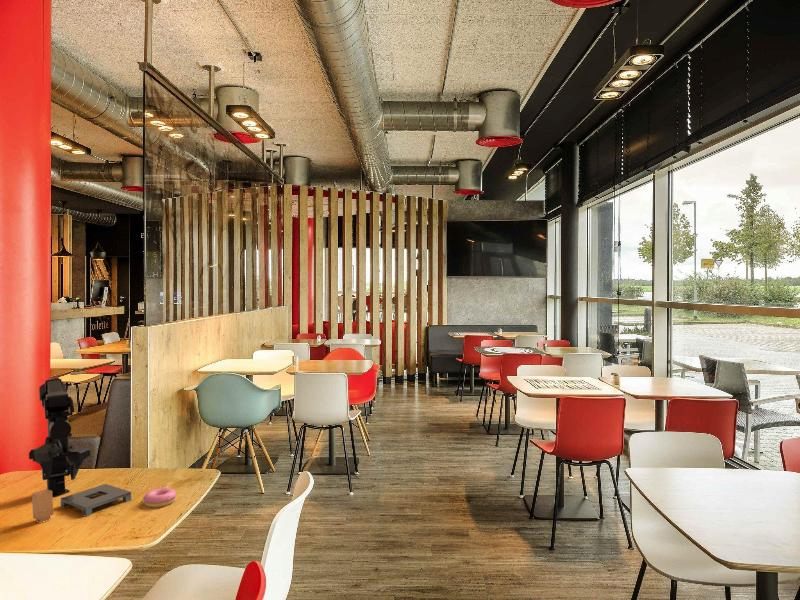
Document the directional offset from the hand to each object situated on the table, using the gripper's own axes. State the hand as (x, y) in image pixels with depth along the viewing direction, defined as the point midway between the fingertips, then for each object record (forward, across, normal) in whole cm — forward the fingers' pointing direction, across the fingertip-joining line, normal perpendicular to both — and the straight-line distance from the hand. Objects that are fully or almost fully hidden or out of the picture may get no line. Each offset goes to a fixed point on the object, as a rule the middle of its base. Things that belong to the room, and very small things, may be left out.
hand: (60, 478), depth 187 cm
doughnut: (+13, +26, +15) cm, 33 cm away
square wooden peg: (+13, -4, -4) cm, 14 cm away
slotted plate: (+13, +4, +12) cm, 18 cm away
